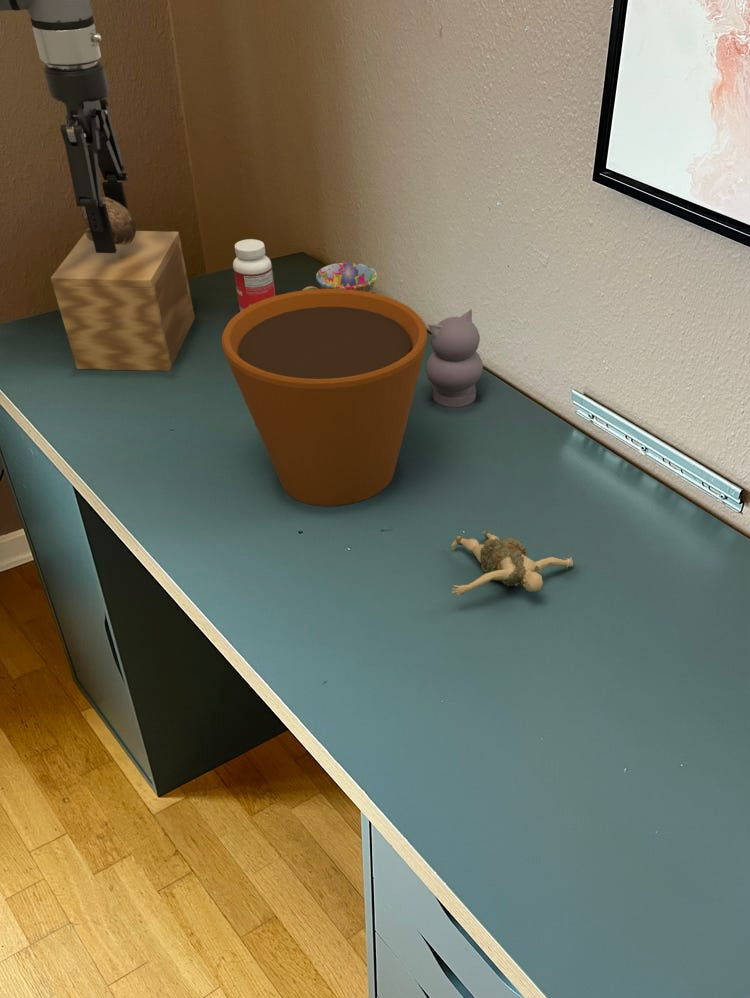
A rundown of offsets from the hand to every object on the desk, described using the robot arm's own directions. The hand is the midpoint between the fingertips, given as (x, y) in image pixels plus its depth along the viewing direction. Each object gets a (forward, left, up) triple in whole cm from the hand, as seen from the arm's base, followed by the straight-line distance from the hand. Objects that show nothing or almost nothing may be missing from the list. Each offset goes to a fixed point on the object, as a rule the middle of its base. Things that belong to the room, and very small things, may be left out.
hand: (114, 239), depth 139 cm
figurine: (+56, -56, -16) cm, 81 cm away
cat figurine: (+50, -15, -16) cm, 55 cm away
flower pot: (+35, -36, -16) cm, 53 cm away
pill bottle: (+17, +12, -16) cm, 26 cm away
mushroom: (0, 0, 0) cm, 0 cm away
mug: (+32, +2, -16) cm, 36 cm away
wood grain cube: (0, 0, -16) cm, 16 cm away
